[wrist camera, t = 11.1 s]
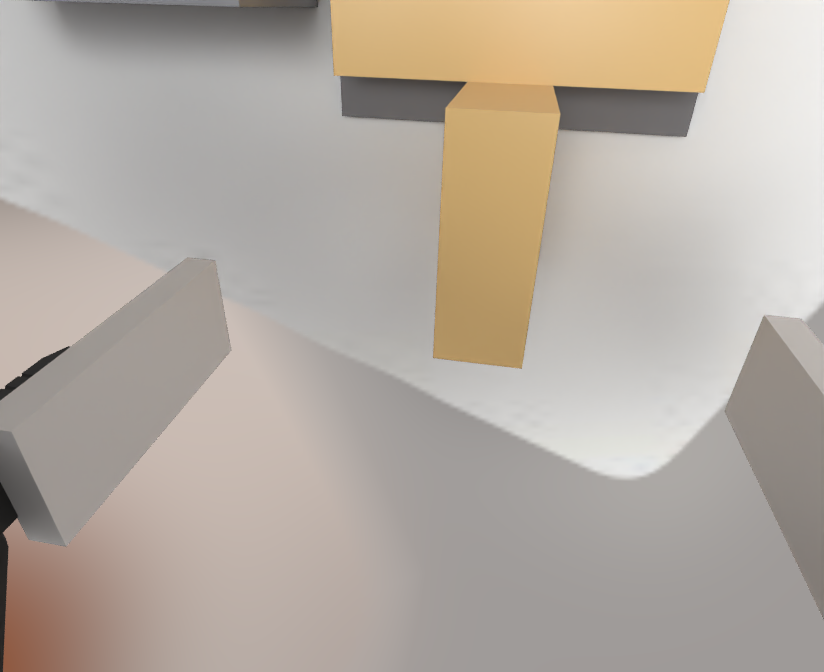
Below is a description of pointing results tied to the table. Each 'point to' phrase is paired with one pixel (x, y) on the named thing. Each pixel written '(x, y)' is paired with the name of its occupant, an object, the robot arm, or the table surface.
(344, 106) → the grey rubber mat
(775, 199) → the table surface
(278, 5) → the charcoal tub
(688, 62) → the amber lid
